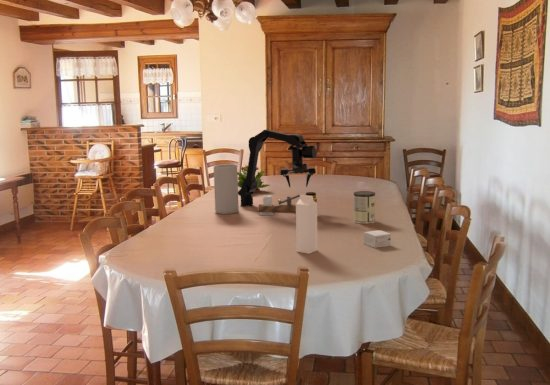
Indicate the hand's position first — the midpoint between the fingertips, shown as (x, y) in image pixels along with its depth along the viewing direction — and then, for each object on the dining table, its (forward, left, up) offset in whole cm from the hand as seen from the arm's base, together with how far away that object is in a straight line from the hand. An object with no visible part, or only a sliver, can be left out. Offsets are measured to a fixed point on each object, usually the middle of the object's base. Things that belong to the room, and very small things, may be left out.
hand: (298, 187), depth 287 cm
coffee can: (+29, -32, -13) cm, 45 cm away
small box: (+26, -75, -13) cm, 81 cm away
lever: (-5, 0, -6) cm, 8 cm away
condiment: (+4, -16, -13) cm, 21 cm away
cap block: (-17, 0, -9) cm, 19 cm away
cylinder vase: (-39, -1, -13) cm, 41 cm away
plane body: (-12, 0, -12) cm, 17 cm away
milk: (-3, -82, -13) cm, 83 cm away
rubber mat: (-18, -9, -12) cm, 23 cm away
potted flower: (-26, +67, -13) cm, 73 cm away
